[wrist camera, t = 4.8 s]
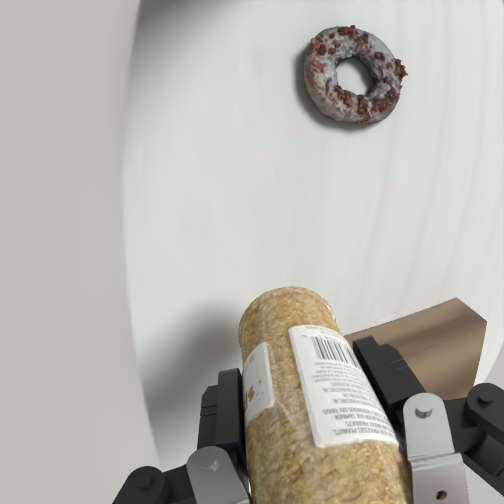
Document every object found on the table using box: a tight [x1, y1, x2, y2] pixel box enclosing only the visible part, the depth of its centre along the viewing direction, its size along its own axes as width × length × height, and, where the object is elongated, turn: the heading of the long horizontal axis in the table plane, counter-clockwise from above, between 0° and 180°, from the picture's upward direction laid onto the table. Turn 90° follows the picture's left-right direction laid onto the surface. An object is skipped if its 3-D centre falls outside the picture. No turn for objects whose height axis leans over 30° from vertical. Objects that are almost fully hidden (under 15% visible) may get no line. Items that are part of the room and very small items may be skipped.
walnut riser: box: [343, 298, 487, 400], centre depth 20 cm, size 11×11×4 cm
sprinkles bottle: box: [238, 287, 412, 504], centre depth 8 cm, size 5×5×13 cm
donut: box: [303, 25, 408, 124], centre depth 15 cm, size 8×8×2 cm
